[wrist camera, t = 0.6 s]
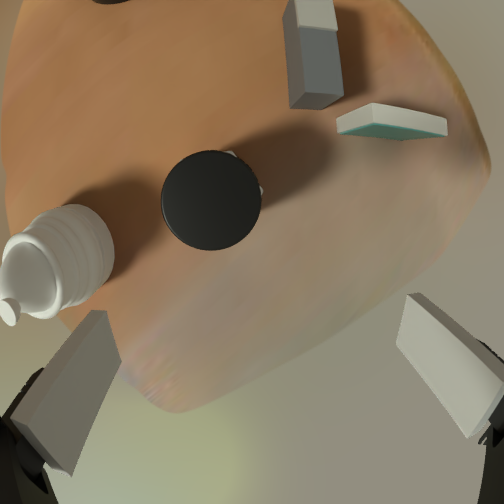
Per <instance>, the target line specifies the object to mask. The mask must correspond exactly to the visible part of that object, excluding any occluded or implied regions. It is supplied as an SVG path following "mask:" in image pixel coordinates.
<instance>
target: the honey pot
mask: <svg viewBox="0 0 504 504" xmlns="http://www.w3.org/2000/svg"><path fill="white" fill-rule="evenodd" d="M114 259H115V255H114V244H113V241H112V237H111V234H110V232H109V230H108V228H107V226H106V224H105V222H104V221H103V220H102V219H101V218H100V216H99V215H98V214H97V213H96V212H94V211H93V210H91V209H90V208H89V207H86V206H83V205H80V204H68V205H64V206H61V207H57V208H54V209H50V210H48V211H45V212H43V213H41V214H39V215H38V216H37V217H36V218H35V219H34V220H33V221H32V222H31V224H30V225H29V226H28V227H27V228H25V229H24V230H23V231H22V232H20V233H17V234H15V235H13V236H12V237H11V238H10V239H9V241H8V242H7V244H6V246H5V248H4V253H3V258H2V265H1V268H0V315H1V317H2V319H3V320H4V321H5V323H7V324H8V325H10V326H14V325H15V324H16V323H17V321H18V320H19V318H20V315H21V312H22V313H28V314H30V315H31V316H33V317H36V318H40V319H48V318H51V317H53V316H55V315H57V314H58V312H59V311H60V310H62V309H64V308H66V307H70V306H75V305H79V304H81V303H82V302H84V301H86V300H88V299H89V297H91V296H92V295H93V294H94V293H95V292H96V291H97V290H98V289H99V288H100V287H101V286H102V285H103V284H104V283H105V281H106V280H107V279H108V278H109V276H110V274H111V272H112V269H113V264H114Z"/></svg>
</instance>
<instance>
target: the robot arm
mask: <svg viewBox="0 0 504 504" xmlns="http://www.w3.org/2000/svg"><path fill="white" fill-rule="evenodd" d="M92 1H94V2H96V3H99V4H116V3H121V2H125V1H128V0H92ZM396 346H397V347H398V348H399V349H400V351H401V352H402V353H403V354H404V356H405V357H406V358H407V359H408V361H409V362H410V363H411V364H412V366H413V367H414V368H415V369H416V371H417V372H418V373H419V374H420V376H421V377H422V378H423V380H424V381H425V382H426V383H427V385H428V386H429V387H430V389H431V390H432V391H433V393H434V394H435V395H436V397H437V398H438V399H439V401H440V402H441V403H442V405H443V406H444V407H445V409H446V410H447V411H448V413H449V414H450V416H451V417H452V418H453V420H454V421H455V422H456V424H457V425H458V427H459V428H460V430H461V431H462V432H463V434H464V435H465V436H466V438H467V439H468V438H469V437H471V436H472V435H474V434H476V433H478V432H479V431H480V430H481V429H482V428H483V426H484V425H485V423H486V422H487V421H488V420H489V421H490V423H491V425H490V426H489V428H488V429H487V430H486V432H485V433H484V434H483V436H482V437H481V438H480V440H479V442H478V444H481V443H482V441H483V440H484V439H485V437H487V440H486V441H485V442H484V444H483V445H486V455H485V464H484V471H483V478H482V484H481V489H480V494H479V499H478V503H477V504H504V361H503V360H502V359H501V358H500V357H498V356H497V354H496V353H495V352H494V351H492V350H491V349H490V348H489V347H488V346H487V345H486V344H485V343H483V342H481V341H479V340H477V339H475V338H474V337H473V336H472V335H471V334H470V333H469V332H467V331H466V330H465V329H464V328H463V327H462V326H460V325H459V324H458V323H457V322H456V321H454V320H453V319H452V318H451V317H449V316H448V315H447V314H446V313H445V312H443V311H442V310H441V309H439V307H437V306H436V305H435V304H433V303H432V302H431V301H430V300H429V299H427V298H426V297H425V296H423V295H422V294H421V293H414V294H407V298H406V303H405V308H404V312H403V317H402V321H401V325H400V329H399V333H398V337H397V341H396ZM121 362H122V361H121V358H120V355H119V352H118V349H117V346H116V343H115V340H114V336H113V333H112V330H111V326H110V323H109V319H108V315H107V311H104V310H91V311H90V313H89V314H88V315H87V316H86V317H85V318H84V320H83V321H82V322H81V323H80V324H79V325H78V327H77V328H76V329H75V330H74V332H73V333H72V334H71V335H70V336H69V338H68V339H67V340H66V341H65V343H64V344H63V345H62V346H61V348H60V349H59V350H58V352H57V353H56V354H55V355H54V357H53V358H52V359H51V360H50V362H49V363H48V364H47V366H46V367H45V368H41V369H39V370H38V371H37V372H35V373H34V374H33V375H32V376H31V377H30V378H29V380H28V381H27V382H26V386H25V385H24V387H23V388H22V389H21V392H20V393H18V395H17V396H16V398H15V399H14V400H13V402H12V403H11V405H10V406H9V408H8V409H7V410H6V412H5V413H4V415H3V416H2V418H1V417H0V504H58V501H57V499H56V497H55V494H54V491H53V489H52V486H51V483H50V481H49V478H48V475H47V473H46V471H45V469H44V468H43V465H44V463H45V462H46V463H47V464H48V465H49V466H50V467H51V468H52V469H53V470H54V471H56V472H59V473H61V474H64V475H67V476H70V477H72V475H73V472H74V469H75V466H76V464H77V461H78V459H79V456H80V454H81V451H82V449H83V446H84V444H85V441H86V439H87V437H88V434H89V431H90V429H91V427H92V425H93V422H94V420H95V418H96V416H97V413H98V411H99V409H100V406H101V404H102V402H103V400H104V398H105V395H106V393H107V391H108V389H109V387H110V385H111V383H112V380H113V379H114V376H115V374H116V372H117V370H118V368H119V366H120V364H121Z"/></svg>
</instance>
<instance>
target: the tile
mask: <svg viewBox="0 0 504 504" xmlns="http://www.w3.org/2000/svg"><path fill="white" fill-rule="evenodd" d="M336 120H337V133H340V134H342V135H355V136H366V137H376V138H385V139H393V140H400V141H403V140H413V139H424V138H436V137H444V136H448V133H447V120H446V118H442V117H439V116H435V115H431V114H427V113H423V112H418V111H414V110H409V109H405V108H400V107H394V106H389V105H383V104H377V103H370V104H367V105H365V106H363V107H360V108H358V109H356V110H354V111H351V112H349V113H347V114H345V115H343V116H340V117H338V118H336Z"/></svg>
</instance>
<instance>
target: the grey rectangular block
mask: <svg viewBox="0 0 504 504" xmlns="http://www.w3.org/2000/svg"><path fill="white" fill-rule="evenodd" d="M282 19H283V28H284V39H285V50H286V62H287V75H288V90H289V106H290V109H311V110H322V109H323V108H325V107H326V106H328V105H330V104H331V103H333V102H334V101H336V100H337V99H339V98H341V97H342V96H344V90H343V80H342V71H341V63H340V55H339V48H338V41H337V35H336V32H337V30H338V27H337V21H336V16H335V11H334V6H333V1H332V0H289V1H288V4H287V6H286V9H285V12H284V15H283V18H282Z"/></svg>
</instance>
